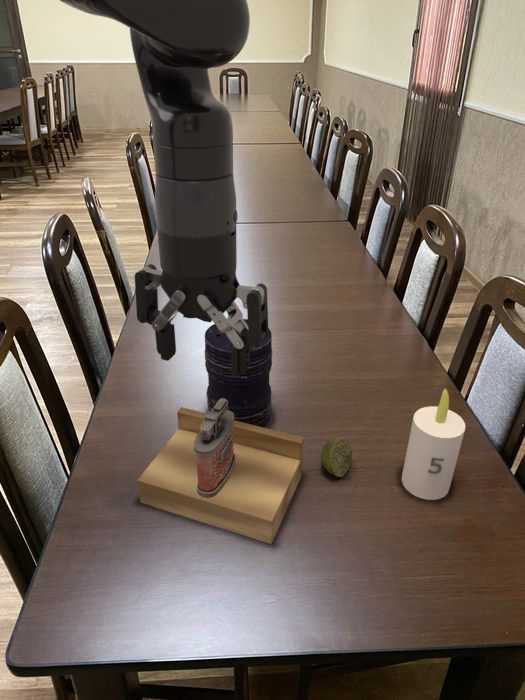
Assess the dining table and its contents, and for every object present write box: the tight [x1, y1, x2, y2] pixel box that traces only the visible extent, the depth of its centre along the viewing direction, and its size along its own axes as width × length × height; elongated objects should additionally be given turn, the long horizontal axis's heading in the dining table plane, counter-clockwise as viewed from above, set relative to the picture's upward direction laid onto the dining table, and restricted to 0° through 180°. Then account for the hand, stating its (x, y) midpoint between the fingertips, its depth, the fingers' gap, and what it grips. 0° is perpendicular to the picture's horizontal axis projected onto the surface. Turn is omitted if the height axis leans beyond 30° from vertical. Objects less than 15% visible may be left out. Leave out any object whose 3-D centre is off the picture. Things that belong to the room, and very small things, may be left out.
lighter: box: [194, 398, 235, 498], centre depth 65 cm, size 8×3×10 cm, turn 161°
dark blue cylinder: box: [204, 318, 273, 428], centre depth 81 cm, size 10×10×15 cm
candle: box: [401, 388, 466, 501], centre depth 69 cm, size 6×6×15 cm
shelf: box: [137, 406, 305, 545], centre depth 70 cm, size 12×18×7 cm, turn 69°
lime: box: [319, 437, 353, 478], centre depth 73 cm, size 4×5×5 cm
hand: (203, 365), depth 59 cm, fingers open, 8 cm apart
